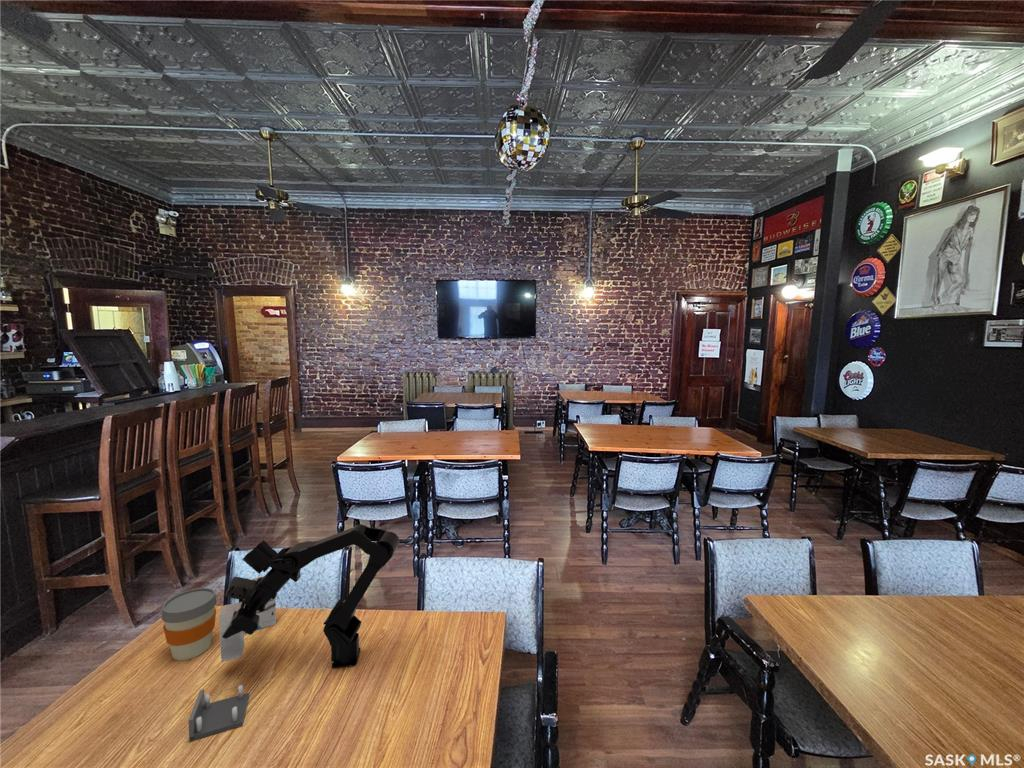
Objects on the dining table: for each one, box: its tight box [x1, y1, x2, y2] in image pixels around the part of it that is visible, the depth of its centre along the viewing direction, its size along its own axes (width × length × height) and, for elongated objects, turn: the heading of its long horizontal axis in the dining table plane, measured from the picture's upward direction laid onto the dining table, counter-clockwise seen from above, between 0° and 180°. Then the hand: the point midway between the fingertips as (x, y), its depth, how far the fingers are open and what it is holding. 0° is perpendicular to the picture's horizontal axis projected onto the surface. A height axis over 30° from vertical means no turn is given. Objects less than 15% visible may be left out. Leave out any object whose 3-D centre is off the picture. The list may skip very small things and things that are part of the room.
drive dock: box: [187, 684, 250, 742], centre depth 98 cm, size 10×9×5 cm
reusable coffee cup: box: [161, 587, 218, 661], centre depth 120 cm, size 13×13×15 cm
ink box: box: [249, 575, 277, 631], centre depth 130 cm, size 8×5×15 cm, turn 123°
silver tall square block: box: [218, 601, 245, 663], centre depth 111 cm, size 4×4×13 cm
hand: (225, 631), depth 111 cm, fingers closed on silver tall square block, 4 cm apart
